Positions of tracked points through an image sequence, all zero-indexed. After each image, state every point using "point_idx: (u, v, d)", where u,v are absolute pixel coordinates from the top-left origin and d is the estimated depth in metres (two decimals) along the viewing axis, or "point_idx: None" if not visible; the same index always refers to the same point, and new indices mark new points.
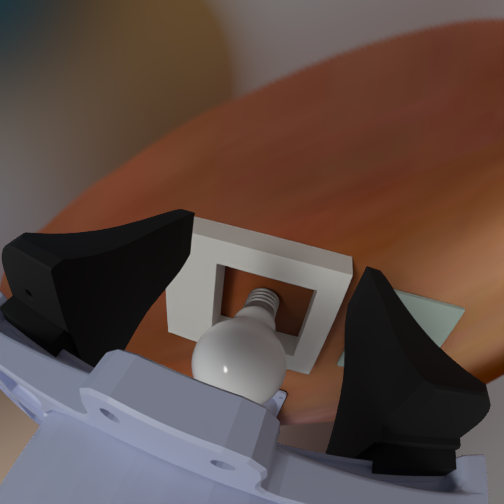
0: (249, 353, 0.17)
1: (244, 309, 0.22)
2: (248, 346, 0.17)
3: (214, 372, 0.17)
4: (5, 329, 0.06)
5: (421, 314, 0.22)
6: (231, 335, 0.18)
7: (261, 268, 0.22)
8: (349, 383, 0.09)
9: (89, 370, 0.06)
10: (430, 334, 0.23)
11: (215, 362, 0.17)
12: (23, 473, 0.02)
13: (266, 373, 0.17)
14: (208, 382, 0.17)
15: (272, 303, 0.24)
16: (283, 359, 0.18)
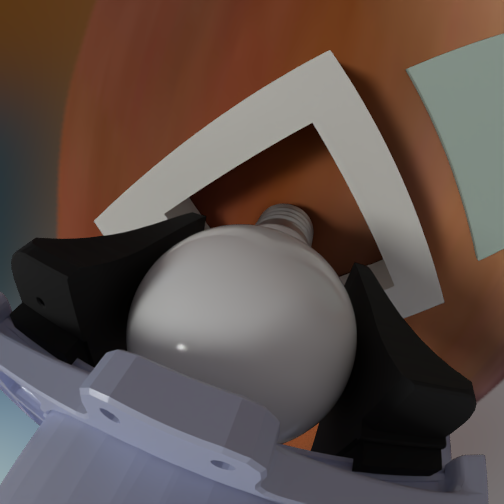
0: (175, 272, 0.06)
1: None
2: (172, 261, 0.07)
3: None
4: (5, 329, 0.06)
5: None
6: (150, 268, 0.07)
7: (210, 163, 0.12)
8: None
9: (89, 370, 0.06)
10: None
11: (128, 339, 0.06)
12: (23, 473, 0.02)
13: (238, 300, 0.06)
14: None
15: (284, 214, 0.12)
16: (299, 253, 0.07)
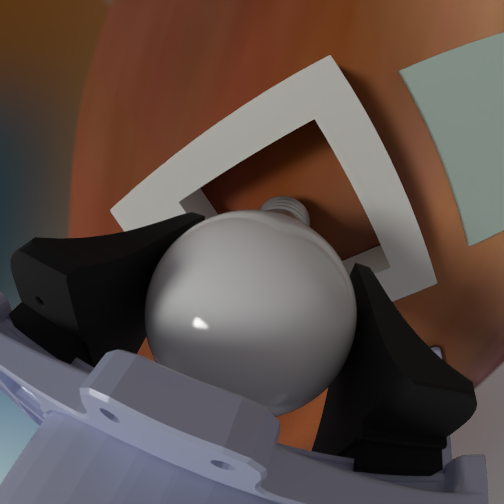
0: (198, 248, 0.07)
1: None
2: (194, 239, 0.07)
3: (156, 335, 0.07)
4: (5, 329, 0.06)
5: (490, 67, 0.09)
6: (168, 248, 0.08)
7: (222, 155, 0.13)
8: (335, 380, 0.09)
9: (89, 370, 0.06)
10: None
11: (150, 313, 0.07)
12: (23, 473, 0.02)
13: (258, 270, 0.06)
14: None
15: (284, 205, 0.13)
16: (306, 233, 0.08)
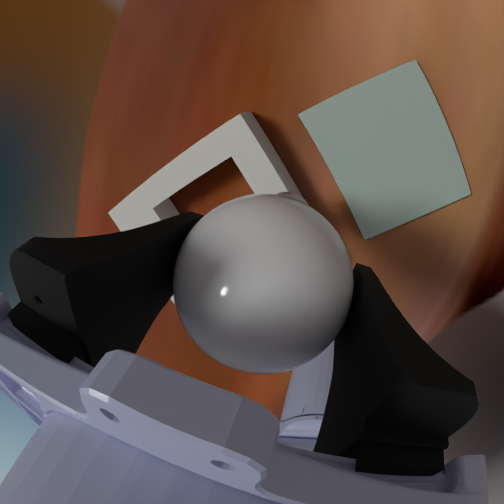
0: (229, 217, 0.09)
1: None
2: (225, 212, 0.09)
3: (188, 289, 0.09)
4: (5, 329, 0.06)
5: (375, 101, 0.16)
6: (199, 221, 0.10)
7: (178, 179, 0.20)
8: (337, 380, 0.09)
9: (89, 370, 0.06)
10: (415, 116, 0.16)
11: (183, 272, 0.09)
12: (23, 473, 0.02)
13: (280, 235, 0.08)
14: (193, 319, 0.09)
15: None
16: (315, 213, 0.09)
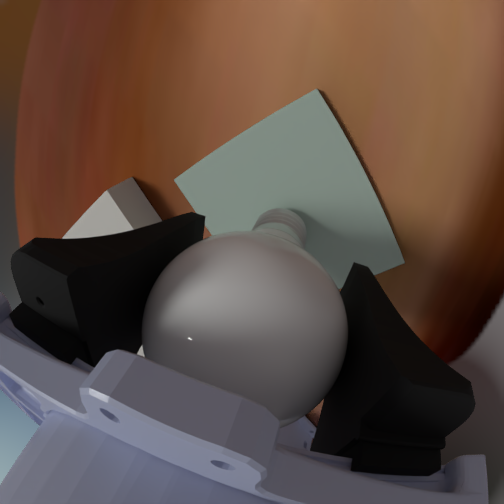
0: (200, 273, 0.07)
1: None
2: (196, 262, 0.07)
3: (154, 353, 0.07)
4: (5, 329, 0.06)
5: (261, 155, 0.14)
6: (169, 265, 0.08)
7: None
8: None
9: (89, 370, 0.06)
10: (318, 169, 0.14)
11: (149, 331, 0.07)
12: (22, 473, 0.02)
13: (260, 303, 0.06)
14: None
15: (283, 219, 0.13)
16: (307, 264, 0.08)
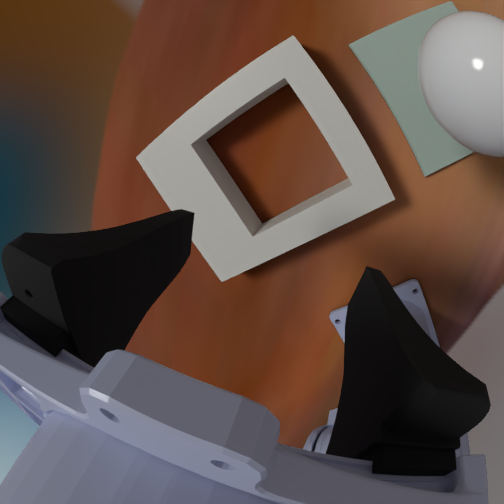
0: (476, 11, 0.06)
1: None
2: None
3: (470, 35, 0.06)
4: (5, 329, 0.06)
5: (421, 34, 0.13)
6: (442, 17, 0.07)
7: (222, 107, 0.17)
8: (349, 383, 0.09)
9: (89, 370, 0.06)
10: None
11: (458, 28, 0.06)
12: (22, 473, 0.02)
13: None
14: (479, 56, 0.06)
15: None
16: None
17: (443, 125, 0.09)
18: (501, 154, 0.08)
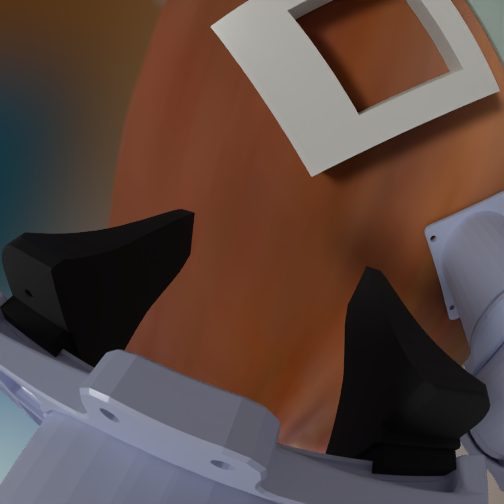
0: None
1: None
2: None
3: None
4: (5, 329, 0.06)
5: None
6: None
7: None
8: (349, 383, 0.09)
9: (89, 370, 0.06)
10: None
11: None
12: (23, 473, 0.02)
13: None
14: None
15: None
16: None
17: None
18: None
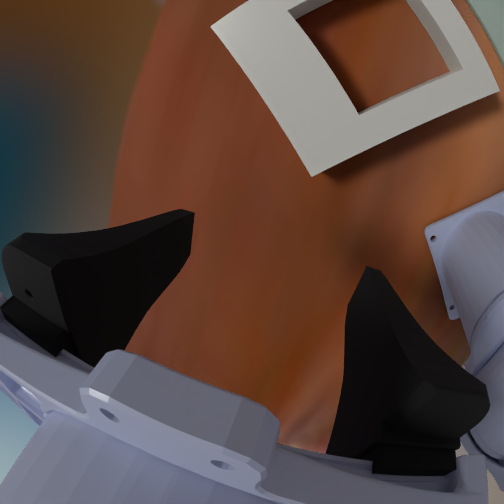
0: None
1: None
2: None
3: None
4: (5, 329, 0.06)
5: None
6: None
7: None
8: (349, 383, 0.09)
9: (89, 370, 0.06)
10: None
11: None
12: (23, 473, 0.02)
13: None
14: None
15: None
16: None
17: None
18: None
